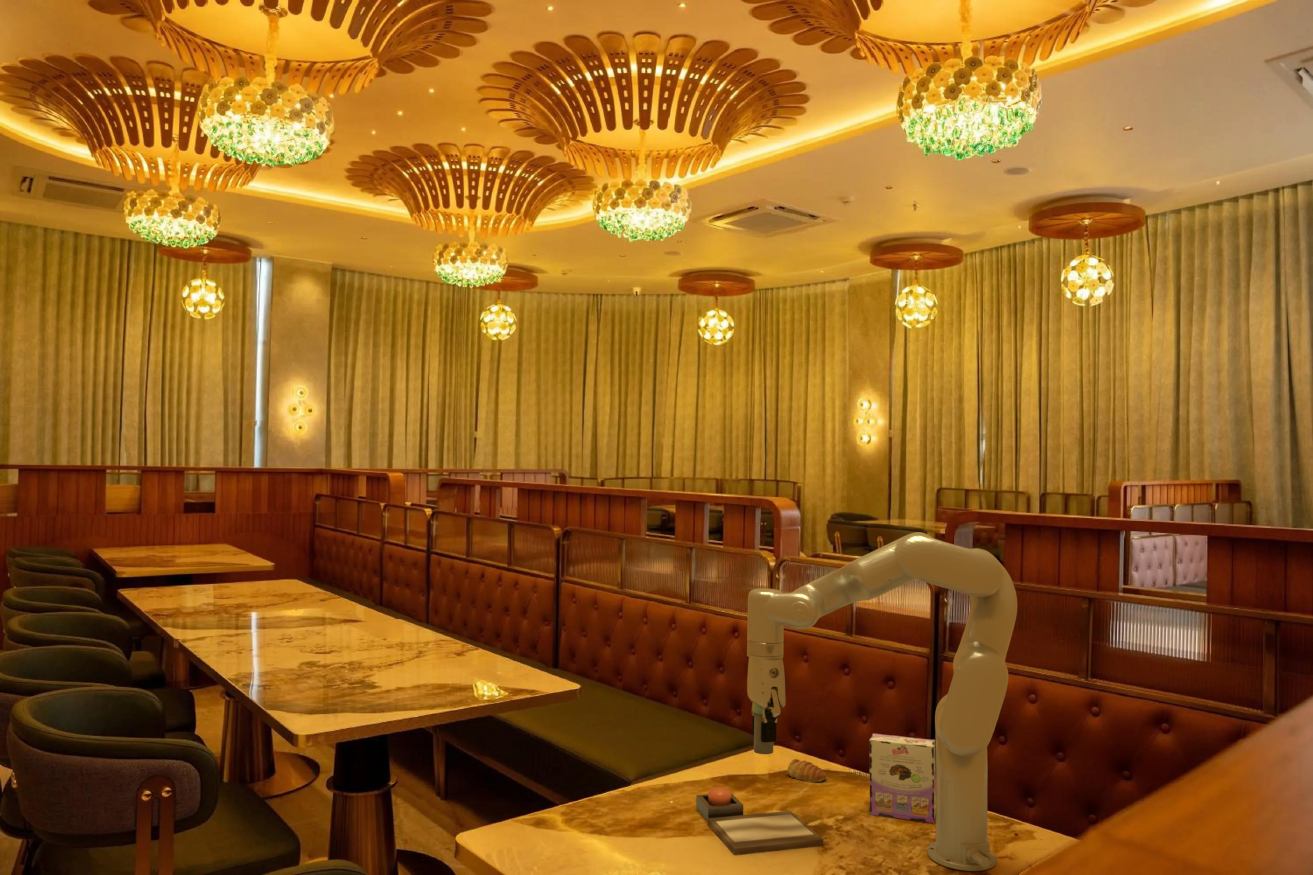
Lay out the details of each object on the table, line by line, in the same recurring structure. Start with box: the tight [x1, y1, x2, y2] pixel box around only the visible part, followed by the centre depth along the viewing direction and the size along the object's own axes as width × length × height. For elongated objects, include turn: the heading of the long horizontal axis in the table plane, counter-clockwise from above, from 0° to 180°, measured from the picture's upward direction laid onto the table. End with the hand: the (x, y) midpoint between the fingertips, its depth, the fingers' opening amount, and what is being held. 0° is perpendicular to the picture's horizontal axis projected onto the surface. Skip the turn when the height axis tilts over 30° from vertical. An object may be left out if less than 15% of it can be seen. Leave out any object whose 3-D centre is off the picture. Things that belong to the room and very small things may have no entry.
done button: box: [707, 786, 732, 806], centre depth 196 cm, size 5×5×2 cm
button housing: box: [695, 792, 744, 821], centre depth 196 cm, size 8×8×3 cm
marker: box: [753, 702, 774, 755], centre depth 186 cm, size 4×4×10 cm
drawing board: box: [706, 810, 824, 856], centre depth 185 cm, size 16×19×1 cm
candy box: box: [868, 733, 936, 824], centre depth 197 cm, size 14×6×16 cm, turn 69°
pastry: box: [786, 758, 827, 783], centre depth 221 cm, size 9×7×4 cm
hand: (763, 737), depth 185 cm, fingers closed on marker, 4 cm apart
